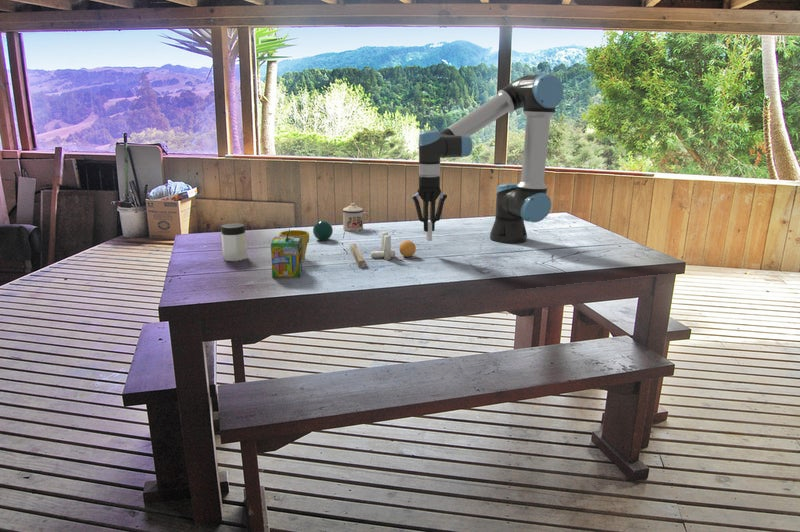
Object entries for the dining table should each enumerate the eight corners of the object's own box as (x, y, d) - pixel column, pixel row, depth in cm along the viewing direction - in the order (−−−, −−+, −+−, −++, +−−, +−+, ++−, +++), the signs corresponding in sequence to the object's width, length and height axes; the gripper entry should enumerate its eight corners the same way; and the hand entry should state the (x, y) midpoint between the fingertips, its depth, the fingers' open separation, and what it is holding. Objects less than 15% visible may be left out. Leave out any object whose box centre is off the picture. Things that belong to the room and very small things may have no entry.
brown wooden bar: (355, 249, 217) (355, 243, 216) (364, 267, 194) (364, 260, 193) (350, 250, 216) (350, 243, 215) (359, 267, 194) (359, 260, 193)
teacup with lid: (346, 232, 245) (345, 205, 242) (340, 228, 253) (340, 202, 250) (372, 230, 249) (372, 204, 246) (366, 226, 258) (365, 200, 254)
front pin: (394, 249, 208) (371, 250, 206) (395, 252, 206) (372, 253, 204) (393, 255, 209) (370, 256, 207) (395, 258, 207) (371, 259, 205)
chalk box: (275, 269, 190) (273, 226, 186) (303, 269, 191) (301, 226, 187) (271, 278, 181) (268, 232, 177) (300, 277, 182) (298, 232, 178)
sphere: (331, 242, 227) (331, 222, 225) (311, 242, 228) (311, 222, 225) (334, 237, 235) (333, 218, 233) (314, 237, 235) (314, 218, 233)
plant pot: (306, 254, 209) (305, 228, 206) (312, 262, 200) (312, 234, 197) (278, 257, 205) (276, 230, 203) (283, 264, 196) (282, 237, 193)
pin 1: (387, 254, 211) (387, 232, 209) (388, 256, 209) (388, 233, 206) (380, 254, 210) (380, 232, 208) (382, 256, 208) (382, 233, 206)
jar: (249, 260, 201) (247, 226, 198) (225, 262, 198) (223, 228, 194) (244, 254, 209) (242, 222, 205) (221, 256, 205) (218, 223, 202)
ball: (397, 239, 208) (398, 254, 211) (401, 244, 203) (401, 260, 205) (413, 237, 210) (413, 252, 212) (417, 242, 204) (417, 258, 207)
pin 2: (389, 257, 206) (390, 235, 204) (391, 259, 204) (391, 236, 202) (383, 258, 206) (383, 235, 203) (384, 260, 203) (384, 236, 201)
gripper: (444, 173, 207) (443, 236, 214) (409, 174, 204) (409, 238, 211) (450, 176, 200) (449, 241, 207) (413, 177, 197) (414, 243, 204)
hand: (429, 239), depth 209 cm, fingers closed
